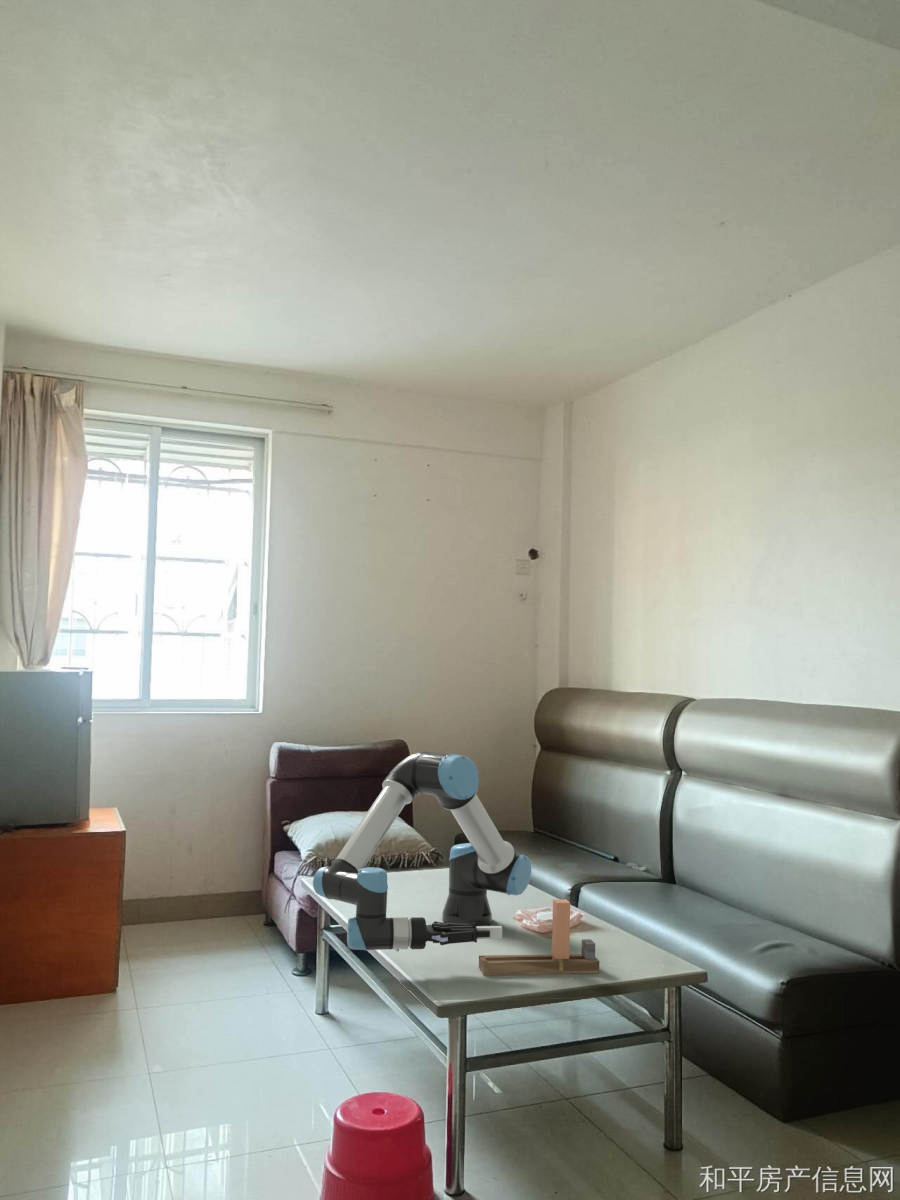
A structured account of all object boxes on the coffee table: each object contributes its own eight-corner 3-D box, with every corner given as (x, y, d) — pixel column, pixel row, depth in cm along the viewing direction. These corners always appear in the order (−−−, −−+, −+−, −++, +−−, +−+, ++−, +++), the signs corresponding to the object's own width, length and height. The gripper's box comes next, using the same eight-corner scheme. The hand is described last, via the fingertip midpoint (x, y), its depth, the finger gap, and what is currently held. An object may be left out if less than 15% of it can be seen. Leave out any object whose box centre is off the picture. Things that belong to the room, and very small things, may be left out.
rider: (550, 964, 238) (552, 899, 239) (565, 964, 239) (567, 899, 240) (554, 968, 234) (555, 902, 236) (569, 968, 235) (571, 902, 236)
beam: (478, 967, 236) (479, 939, 237) (591, 965, 241) (592, 938, 241) (483, 975, 230) (484, 946, 231) (599, 973, 235) (599, 944, 235)
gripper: (405, 941, 237) (495, 940, 241) (411, 956, 225) (506, 955, 228) (406, 911, 238) (496, 910, 242) (412, 924, 225) (507, 923, 229)
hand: (501, 932), depth 235 cm, fingers closed
